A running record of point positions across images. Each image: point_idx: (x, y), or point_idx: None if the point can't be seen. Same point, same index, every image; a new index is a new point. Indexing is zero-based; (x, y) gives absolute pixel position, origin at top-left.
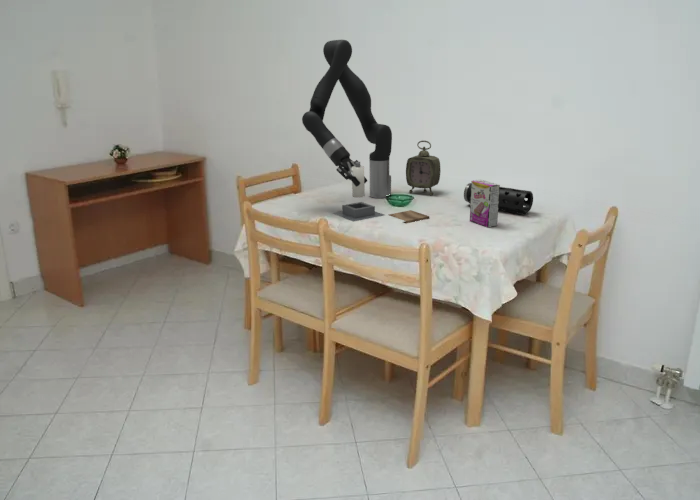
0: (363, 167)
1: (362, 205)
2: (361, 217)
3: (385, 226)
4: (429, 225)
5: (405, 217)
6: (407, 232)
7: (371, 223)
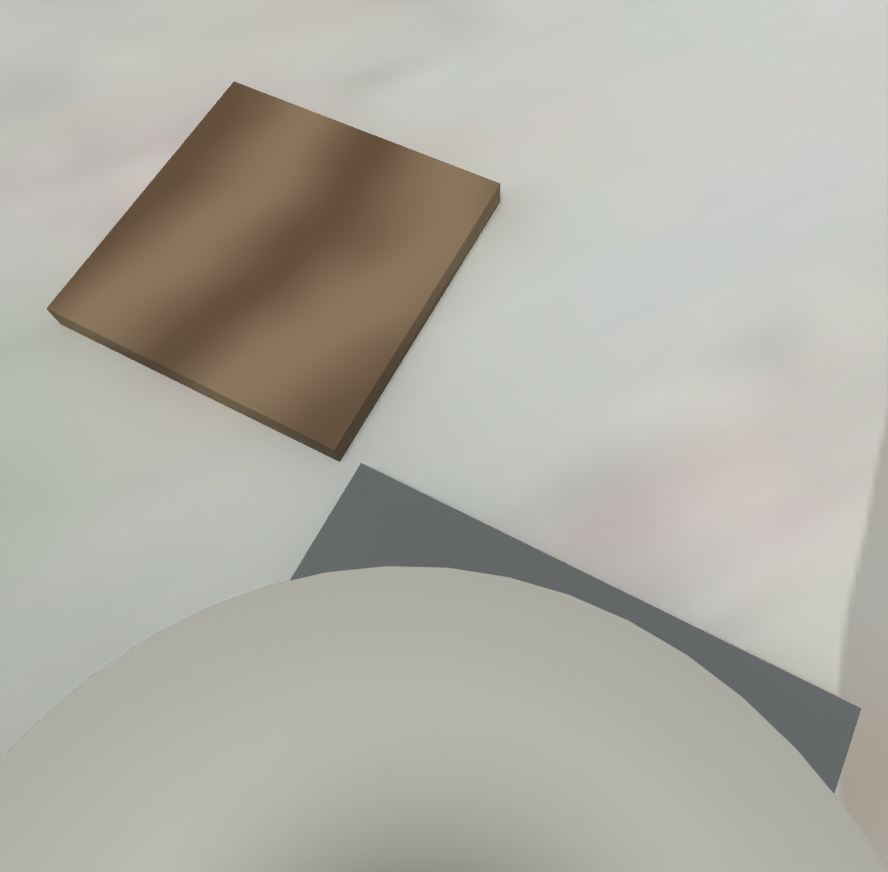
0: (381, 569)
1: None
2: None
3: (702, 322)
4: (456, 30)
5: (368, 238)
6: (759, 88)
7: (684, 507)
